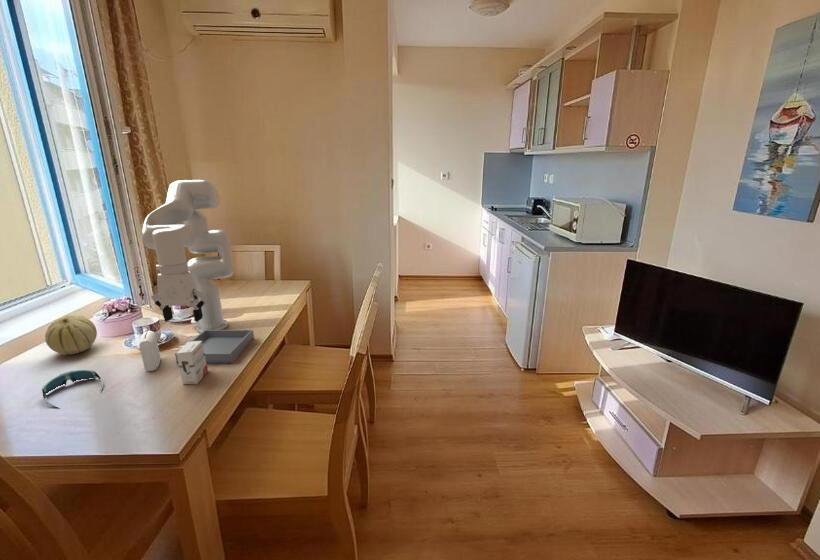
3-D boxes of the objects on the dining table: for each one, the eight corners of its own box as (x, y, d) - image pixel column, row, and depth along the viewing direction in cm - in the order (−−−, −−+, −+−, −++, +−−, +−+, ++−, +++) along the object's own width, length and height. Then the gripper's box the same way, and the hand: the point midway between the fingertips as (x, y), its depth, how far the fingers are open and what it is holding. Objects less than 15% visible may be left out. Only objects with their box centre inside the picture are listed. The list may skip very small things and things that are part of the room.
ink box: (194, 371, 134) (187, 340, 130) (208, 370, 134) (202, 339, 131) (182, 385, 126) (175, 352, 122) (197, 384, 126) (191, 352, 122)
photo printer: (148, 359, 142) (141, 329, 138) (162, 357, 143) (155, 326, 140) (144, 373, 133) (136, 340, 129) (158, 370, 134) (151, 338, 131)
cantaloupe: (93, 339, 157) (83, 305, 153) (107, 349, 149) (97, 313, 145) (46, 354, 146) (34, 318, 141) (58, 365, 138) (45, 327, 133)
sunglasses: (95, 375, 132) (92, 363, 130) (110, 396, 124) (107, 383, 122) (40, 393, 122) (36, 381, 120) (52, 418, 113) (48, 404, 111)
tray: (176, 363, 139) (174, 353, 138) (206, 338, 158) (204, 329, 157) (231, 363, 138) (229, 354, 137) (254, 338, 157) (252, 329, 156)
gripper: (137, 272, 115) (149, 324, 120) (194, 272, 114) (204, 324, 119) (154, 265, 122) (164, 315, 127) (207, 265, 121) (216, 315, 126)
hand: (183, 320), depth 123 cm, fingers open, 9 cm apart
